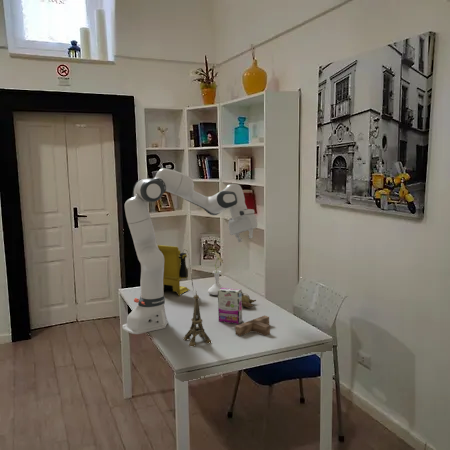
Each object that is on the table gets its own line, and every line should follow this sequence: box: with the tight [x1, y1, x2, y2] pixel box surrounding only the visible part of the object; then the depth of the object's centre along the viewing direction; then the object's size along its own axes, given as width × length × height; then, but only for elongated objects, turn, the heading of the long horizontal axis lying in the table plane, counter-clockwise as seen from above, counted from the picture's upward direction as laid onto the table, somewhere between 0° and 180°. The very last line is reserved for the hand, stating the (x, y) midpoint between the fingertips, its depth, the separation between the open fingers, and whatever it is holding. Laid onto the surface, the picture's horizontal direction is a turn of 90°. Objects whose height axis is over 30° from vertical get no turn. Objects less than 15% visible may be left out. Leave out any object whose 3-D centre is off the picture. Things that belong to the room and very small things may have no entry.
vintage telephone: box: [157, 244, 195, 297], centre depth 276 cm, size 31×14×30 cm, turn 63°
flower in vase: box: [207, 252, 225, 296], centre depth 272 cm, size 13×11×25 cm
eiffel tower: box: [183, 292, 212, 347], centre depth 202 cm, size 11×11×25 cm
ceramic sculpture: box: [242, 292, 257, 308], centre depth 249 cm, size 11×9×15 cm
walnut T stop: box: [234, 315, 271, 337], centre depth 212 cm, size 20×11×4 cm, turn 133°
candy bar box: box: [217, 287, 243, 325], centre depth 225 cm, size 11×5×16 cm, turn 68°
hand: (245, 240), depth 235 cm, fingers open, 8 cm apart
